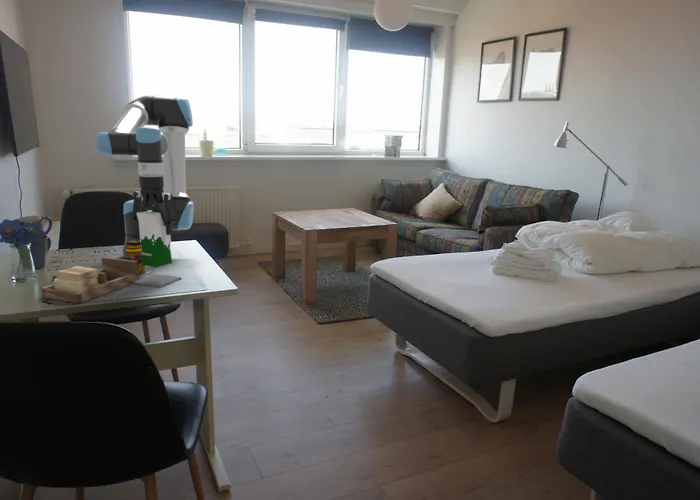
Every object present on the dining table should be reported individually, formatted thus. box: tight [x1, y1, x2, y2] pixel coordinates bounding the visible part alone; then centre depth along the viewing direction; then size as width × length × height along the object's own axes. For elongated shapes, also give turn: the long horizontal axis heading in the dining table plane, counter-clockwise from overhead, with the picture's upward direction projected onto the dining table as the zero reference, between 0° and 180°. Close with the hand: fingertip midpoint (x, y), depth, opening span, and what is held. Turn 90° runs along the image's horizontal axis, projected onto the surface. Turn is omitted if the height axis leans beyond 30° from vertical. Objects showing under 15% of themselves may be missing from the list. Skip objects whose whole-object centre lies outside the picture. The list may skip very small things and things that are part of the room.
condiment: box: [125, 240, 152, 277], centre depth 183 cm, size 7×8×12 cm
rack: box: [41, 256, 140, 304], centre depth 165 cm, size 25×14×7 cm, turn 161°
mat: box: [133, 273, 182, 288], centre depth 175 cm, size 11×11×1 cm
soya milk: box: [136, 205, 173, 269], centre depth 172 cm, size 9×9×20 cm
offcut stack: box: [53, 265, 100, 293], centre depth 160 cm, size 8×10×8 cm
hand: (155, 242), depth 172 cm, fingers closed on soya milk, 9 cm apart
